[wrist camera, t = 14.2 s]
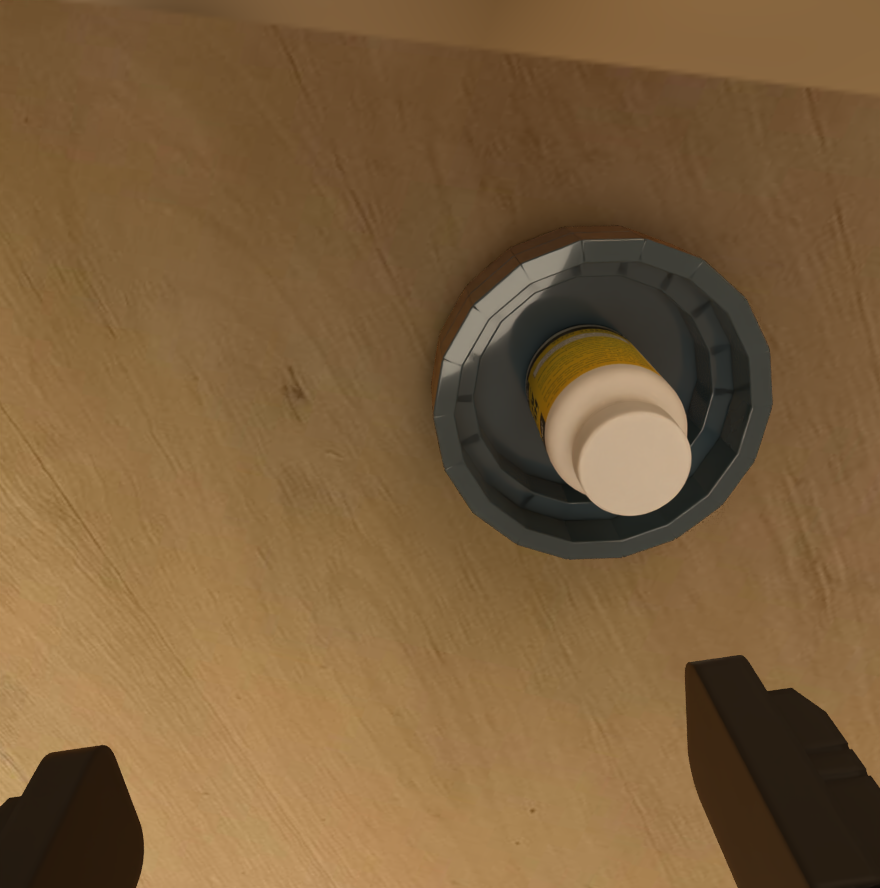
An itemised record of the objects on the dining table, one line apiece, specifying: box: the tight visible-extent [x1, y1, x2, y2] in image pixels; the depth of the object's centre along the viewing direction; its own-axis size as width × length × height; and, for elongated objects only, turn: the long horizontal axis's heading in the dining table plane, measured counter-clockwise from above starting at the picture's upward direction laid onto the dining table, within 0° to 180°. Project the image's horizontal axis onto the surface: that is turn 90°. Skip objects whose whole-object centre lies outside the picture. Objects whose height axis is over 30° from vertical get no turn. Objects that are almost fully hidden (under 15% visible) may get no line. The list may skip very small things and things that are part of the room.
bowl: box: [431, 225, 773, 560], centre depth 36 cm, size 14×14×5 cm
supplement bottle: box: [526, 325, 691, 516], centre depth 33 cm, size 5×5×10 cm
